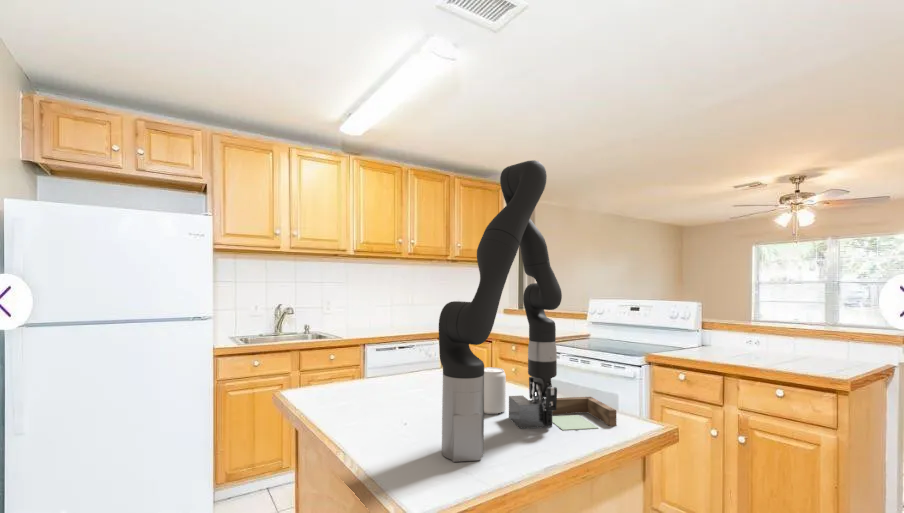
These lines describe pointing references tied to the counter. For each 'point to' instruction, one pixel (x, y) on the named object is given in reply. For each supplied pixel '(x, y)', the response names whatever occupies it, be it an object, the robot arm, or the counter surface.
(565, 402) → the wooden corner fixture
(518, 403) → the bracket
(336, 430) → the counter surface
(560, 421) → the mat
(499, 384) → the beverage can
